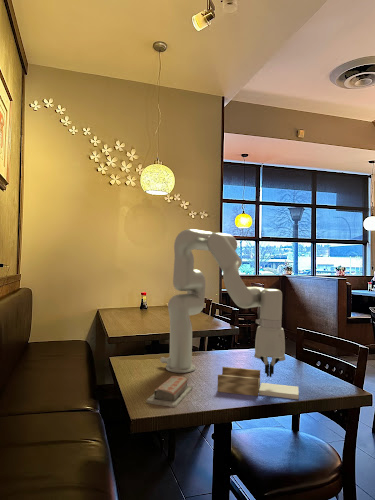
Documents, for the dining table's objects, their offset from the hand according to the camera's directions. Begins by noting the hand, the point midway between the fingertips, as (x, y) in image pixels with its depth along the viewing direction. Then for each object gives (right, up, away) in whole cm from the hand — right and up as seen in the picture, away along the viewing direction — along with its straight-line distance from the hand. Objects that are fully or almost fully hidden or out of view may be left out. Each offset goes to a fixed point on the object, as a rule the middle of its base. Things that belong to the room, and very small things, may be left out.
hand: (269, 375), depth 125 cm
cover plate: (+3, -6, -1) cm, 7 cm away
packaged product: (-35, -5, -6) cm, 35 cm away
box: (-10, -5, +2) cm, 12 cm away
